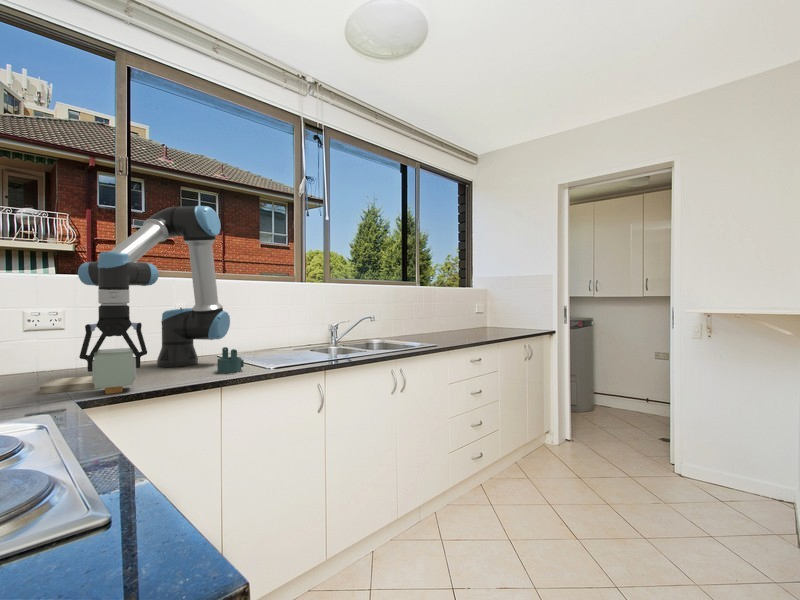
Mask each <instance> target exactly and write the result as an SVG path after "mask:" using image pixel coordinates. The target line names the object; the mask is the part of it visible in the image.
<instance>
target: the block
mask: <svg viewBox="0 0 800 600" xmlns="http://www.w3.org/2000/svg"><path fill="white" fill-rule="evenodd" d="M123 390H124V386H119V387H109V388H104V391H105V392H104V393H105V394H116V393H117V394H118V393H122V392H123Z"/></svg>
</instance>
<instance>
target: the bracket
mask: <svg viewBox="0 0 800 600" xmlns="http://www.w3.org/2000/svg"><path fill="white" fill-rule="evenodd" d="M221 350H222V353H221V356H222V357H219V358H217V374H219V373H220V374H222V375H229V374H228V373H232V374H238V373H237V372H239V373H241V372H242V368H244V365H245V363H244V362H245V361H244V359H242V357H241V356H238V350H237V349H234V348H233V349H231V350H230V356H229V347H226V346H223V347H222V349H221ZM240 371H241V372H240Z"/></svg>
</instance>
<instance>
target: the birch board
mask: <svg viewBox="0 0 800 600" xmlns="http://www.w3.org/2000/svg"><path fill="white" fill-rule="evenodd" d="M99 389H101V388H98V389H97V390H99ZM88 390H95V389H94V384H93V383H92V375H87V376H74V377H73V376H71V377H61V378H50V379H48V380H47V381H46V382H44V383H43V384H42V385H41V386H39V394H40V395H44V394H55V393H57V394H58V393H68V392H77V391H78V392H79V391H88Z"/></svg>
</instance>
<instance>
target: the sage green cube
mask: <svg viewBox="0 0 800 600" xmlns="http://www.w3.org/2000/svg"><path fill="white" fill-rule="evenodd" d="M133 357H134V353H133V350H131V348H130V347H125V348H124V347H123V348H105V349H99V350H98V351H97V352H95V353H94V358H93V360H94V389H93V390H99V389H98V388H100V389H105V388H109V387H119V386H123V387H126V386H133V384H134V381H135V380H133Z"/></svg>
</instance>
